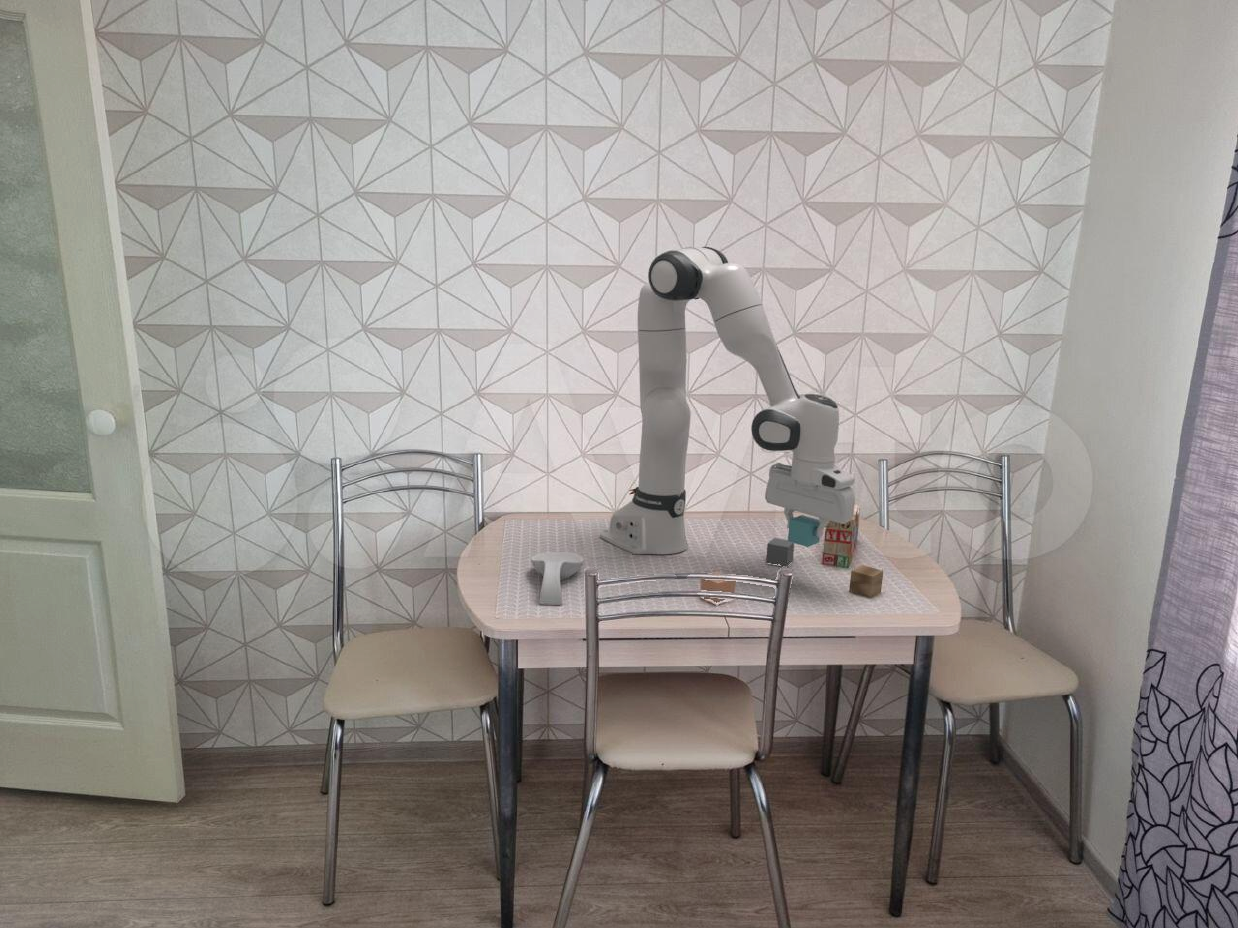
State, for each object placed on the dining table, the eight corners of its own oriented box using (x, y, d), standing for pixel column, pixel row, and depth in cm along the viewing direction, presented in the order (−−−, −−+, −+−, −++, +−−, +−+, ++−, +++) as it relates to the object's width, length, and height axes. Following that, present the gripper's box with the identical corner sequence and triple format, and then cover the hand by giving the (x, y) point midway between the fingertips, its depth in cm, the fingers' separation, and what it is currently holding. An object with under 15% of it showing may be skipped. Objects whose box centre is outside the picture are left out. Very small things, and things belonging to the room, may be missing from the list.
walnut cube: (849, 592, 195) (851, 570, 194) (859, 586, 199) (862, 564, 197) (870, 598, 192) (872, 576, 190) (881, 592, 195) (883, 570, 194)
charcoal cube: (765, 563, 210) (767, 543, 209) (772, 557, 215) (774, 537, 213) (786, 567, 208) (788, 547, 207) (792, 561, 212) (794, 541, 211)
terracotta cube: (700, 598, 189) (701, 575, 188) (717, 593, 192) (718, 571, 191) (716, 606, 185) (718, 583, 184) (733, 600, 188) (735, 578, 187)
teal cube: (787, 540, 196) (790, 519, 195) (799, 536, 200) (802, 514, 198) (807, 547, 193) (810, 525, 192) (819, 542, 197) (822, 520, 195)
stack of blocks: (832, 537, 230) (836, 491, 227) (857, 541, 228) (862, 494, 225) (821, 564, 211) (826, 514, 208) (848, 568, 209) (854, 518, 206)
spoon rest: (532, 564, 205) (533, 534, 203) (584, 566, 205) (585, 536, 204) (523, 606, 182) (523, 573, 180) (581, 607, 182) (581, 574, 181)
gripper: (763, 462, 197) (756, 522, 200) (847, 484, 184) (838, 547, 187) (778, 458, 201) (772, 517, 205) (861, 479, 188) (853, 541, 192)
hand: (804, 532), depth 196 cm, fingers closed on teal cube, 5 cm apart
